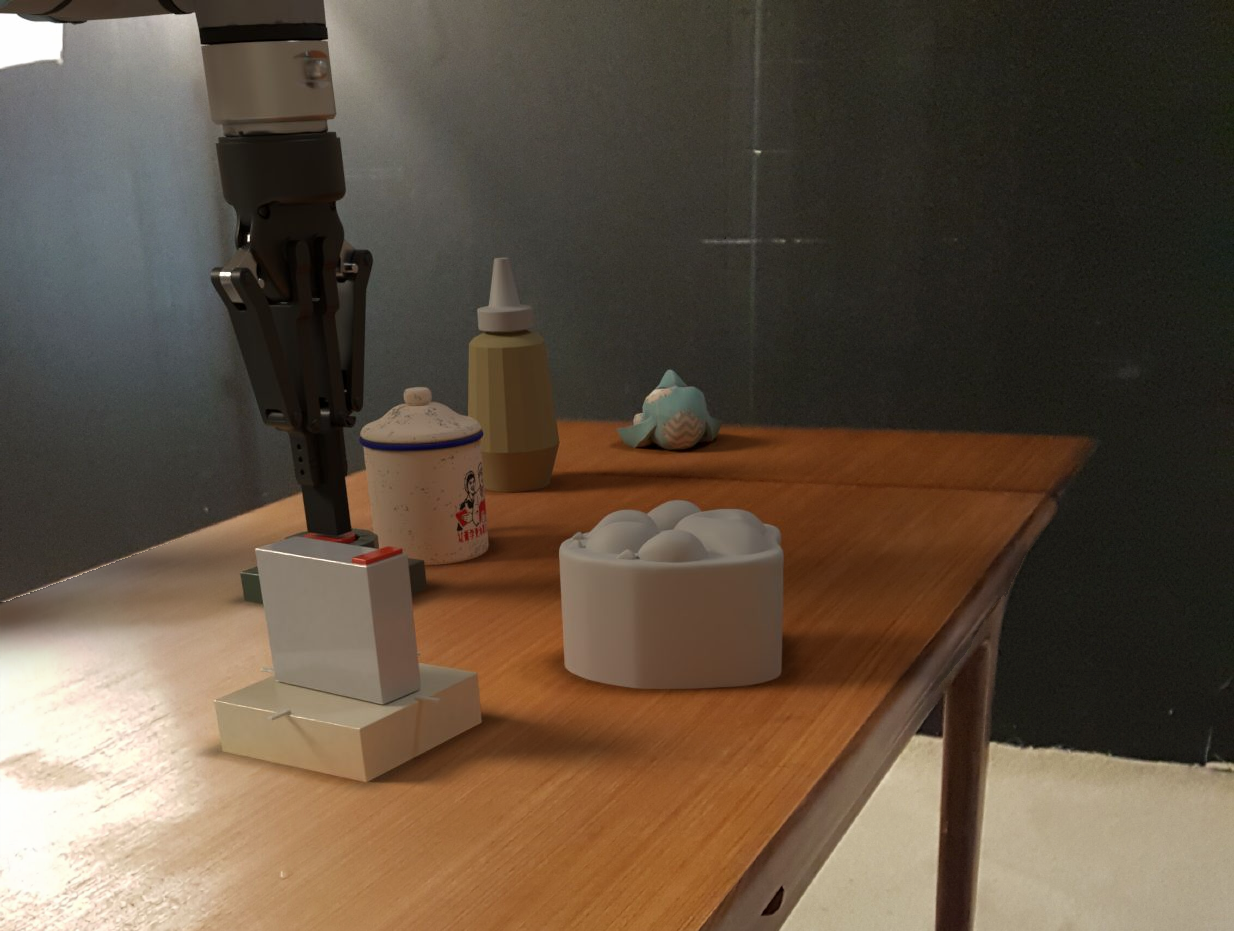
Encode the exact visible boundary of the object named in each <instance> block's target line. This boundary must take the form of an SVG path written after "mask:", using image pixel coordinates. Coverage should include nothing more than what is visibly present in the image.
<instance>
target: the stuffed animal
mask: <svg viewBox="0 0 1234 931" xmlns="http://www.w3.org/2000/svg"><path fill="white" fill-rule="evenodd" d="M632 421H633V424H631V425H629V426H625V427H617V428H615V430H616V432H617V434H618V435H619V437H620V439H621V440H622V442H623V443H624V444H626V445H628V446H629V447H631V448H634V449H635V448H646V447H650V446H654V445H657V446H658V447H660V448H661V449H664V450H665V451H666V450H667V451H685V450H689V449H691V448H693V447H695V446H696V444H701V443H712V442H713V441H714V440H715V438H716V437H717V436H718V435H719V433H720V430H721V428H722V425H723V423H724V420H722V419H717V418H715V417H713V416H711V415H710V413H709V411H708V406H707V402H706V397H705V394H704V392H702V390H700V389H699V388H698V387H695V386H692V385H687V384H686V383H685V382H684V381H683V380H682V378H681V376H679V375H678V374H677V372H675V370H673V369H667V370H666V372H665V373H664V375H663V376H662V378H661V380H660V382H659V384H658V385H657V386H656V387H655V389H653V390H652V391H651V392H650V393H648V395H647V396H646V397H645V399H644V401H643V404H642V412H641V413H640V412H639V413H635V415H634V417H633V420H632Z"/></svg>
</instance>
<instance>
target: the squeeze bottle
mask: <svg viewBox="0 0 1234 931" xmlns="http://www.w3.org/2000/svg"><path fill="white" fill-rule="evenodd" d="M493 259H494V260H493V268H492V276H491V284H490V292H489V300H488V305H486V306H481V307H479V308H477V311H476V312H477V323H478V324H477V326H478V330H479V331H480V332H483V333H480V334H478V335H475V337H473V338H472V339H471V341H469V343H468V386H467V387H468V388H467V391H468V394H467V397H468V398H467V399H468V400H467V417H471V418H474V419H475V420H477V421H478V422H479V424H480V425H481V429H482V431H483V437H482V438H481V452H482V465H483V478H484V490H487V491H489V492H497V493H525V492H531V491H537V490H541V489H543V488H547V486H549V485H550V483H551V478H552V475H553V471H554V467H555V463H556V459H557V454H558V452H559V447H560V437H559V430H558V423H557V416H556V408H555V402H554V395H553V389H552V387H553V386H552V380H551V374H550V367H549V366H550V365H549V360H548V352H547V346H546V341H545V339H544V338H543V337H542V336H540V334H538V333H536V332H534V331H531V329H533V328H534V315H533V314H534V313H533V307H532V305H528V304H521V303H520V298H519V295H518V291H517V287H516V282H515V278H514V274H513V271H512V267H511V263H510V259H509V257H495V258H493Z"/></svg>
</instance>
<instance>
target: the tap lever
mask: <svg viewBox="0 0 1234 931" xmlns="http://www.w3.org/2000/svg"><path fill="white" fill-rule="evenodd" d="M284 539H285V538H284ZM284 539H282V540H278V541H275V542H271V543H268V544H265V545H261V546H258V547H255V548H254V553H255V559H256V566H258V572H259V579H260V585H261V592H262V598H263V604H262V605H263V611H264V617H265V623H266V630H267V636H268V644H269V650H270V656H271V662H272V668H273V670H274V674H273V675H274V676H275V680H276V681H279V682H284V683H288V684H293V685H297V686H302V687H306V688H311V689H315V690H320V691H324V692H329V693H333V694H338V695H342V696H347V697H351V698H356V699H360V700H365V701H369V702H373V703H378V704H383V705H384V704H386V703H388V702H391V701H393V700H396V699H398V698H400V697H403V696H405V695H407V694H410V693H412V692H415V691H417V690H419V689H421V681H420V671H419V663H420V662H419V656H418V652H419V651H418V644H417V634H416V624H415V615H414V606H413V605H414V604H413V595H412V594H411V585H410V575H409V565H408V556H407V554H406V553H403V550H402V548H396V547H389V546H387V547H384V548H381V549H375V548H368V547H362V546H355V545H349V544H343V543H336V542H330V541H323V540H317V539H310V538H304V537H298V536H295V537H291V538H288V539H285V540H284Z"/></svg>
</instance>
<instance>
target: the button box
mask: <svg viewBox="0 0 1234 931" xmlns="http://www.w3.org/2000/svg"><path fill="white" fill-rule="evenodd" d="M351 529H352V532H354V534H355V539H356V541H354V542H351V543H349V545H355V546H362V547H368V548H375V549H379V542H378V535H376V534H375V533H373V531H371V530H369V529H361V528H354V527H351ZM308 533H309V532H308V531H307V530H305V531H301V532H298V533H295V534H292V535H289V536H285V538H284V539H283V540H285V539H288V538H291V537H295V536H298V537H303V536H304V535H306V534H308ZM408 565H409V575H410V585H411V594H412V596H413V595H416V594H418V593H420V592H423V591H425V590H427V589H428V585H427V574H426V566H425V563H424V560H419V559H411V558H408ZM239 575H240V581H241V586H242V587H241V588H242V593H243V594H242V595H243V599H244V602H250V603H255V604H260V605H263V598H262V592H261V585H260V579H259V572H258V566H257V565H256V566H254V567H251V568H248V569H244V570H242V571H240V572H239Z"/></svg>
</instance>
